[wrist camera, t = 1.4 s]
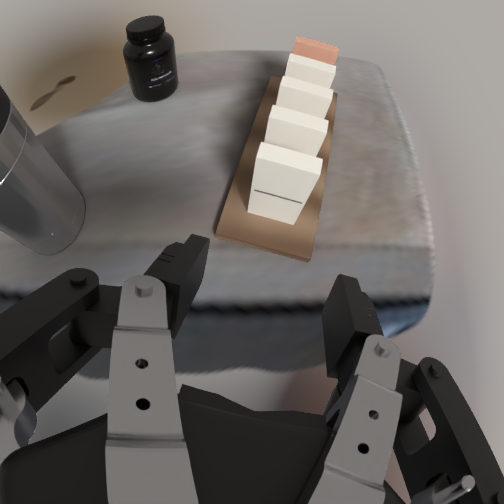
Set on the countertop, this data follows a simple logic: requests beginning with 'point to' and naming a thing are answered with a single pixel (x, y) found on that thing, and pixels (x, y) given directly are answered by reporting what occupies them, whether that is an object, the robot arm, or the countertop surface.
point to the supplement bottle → (150, 59)
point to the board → (235, 210)
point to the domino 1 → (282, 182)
